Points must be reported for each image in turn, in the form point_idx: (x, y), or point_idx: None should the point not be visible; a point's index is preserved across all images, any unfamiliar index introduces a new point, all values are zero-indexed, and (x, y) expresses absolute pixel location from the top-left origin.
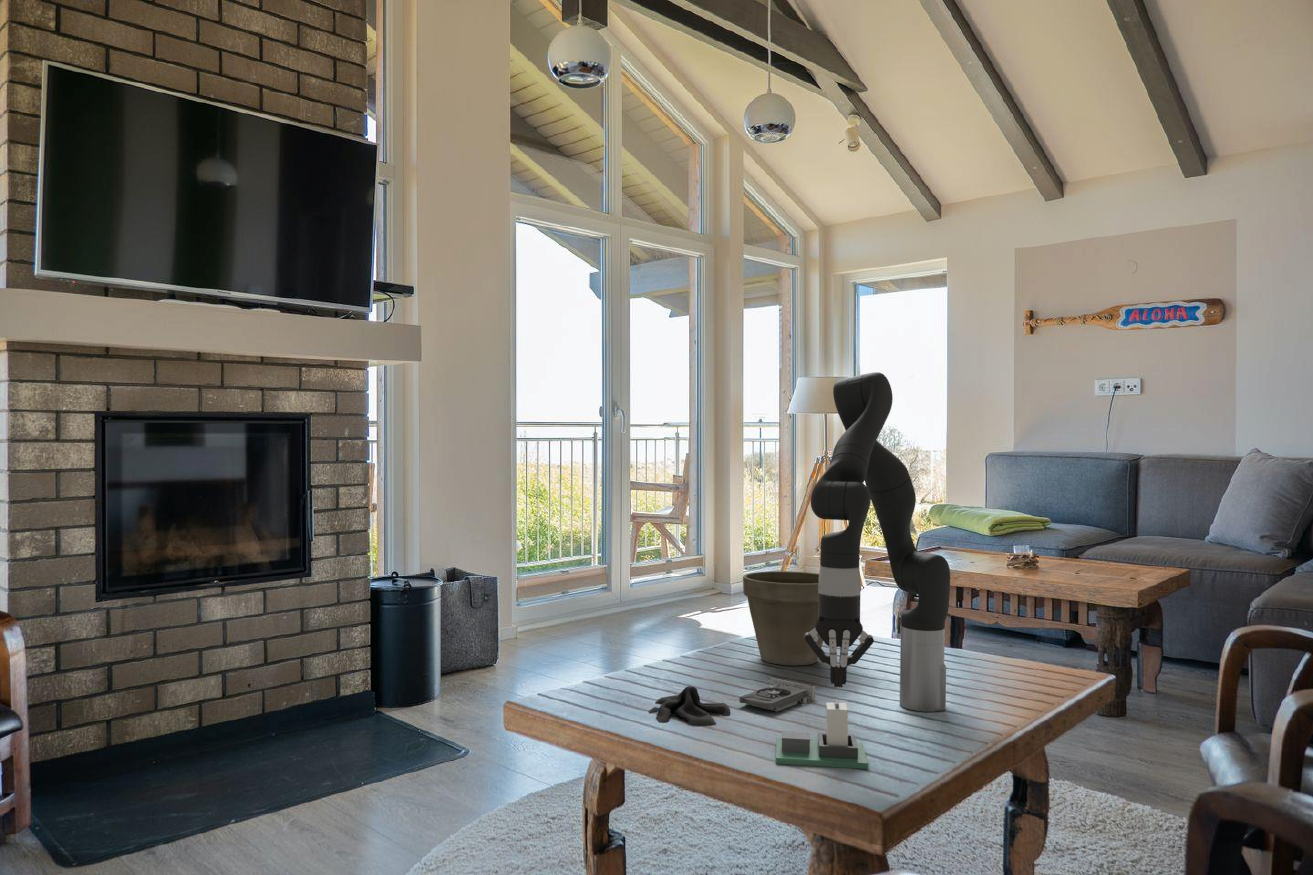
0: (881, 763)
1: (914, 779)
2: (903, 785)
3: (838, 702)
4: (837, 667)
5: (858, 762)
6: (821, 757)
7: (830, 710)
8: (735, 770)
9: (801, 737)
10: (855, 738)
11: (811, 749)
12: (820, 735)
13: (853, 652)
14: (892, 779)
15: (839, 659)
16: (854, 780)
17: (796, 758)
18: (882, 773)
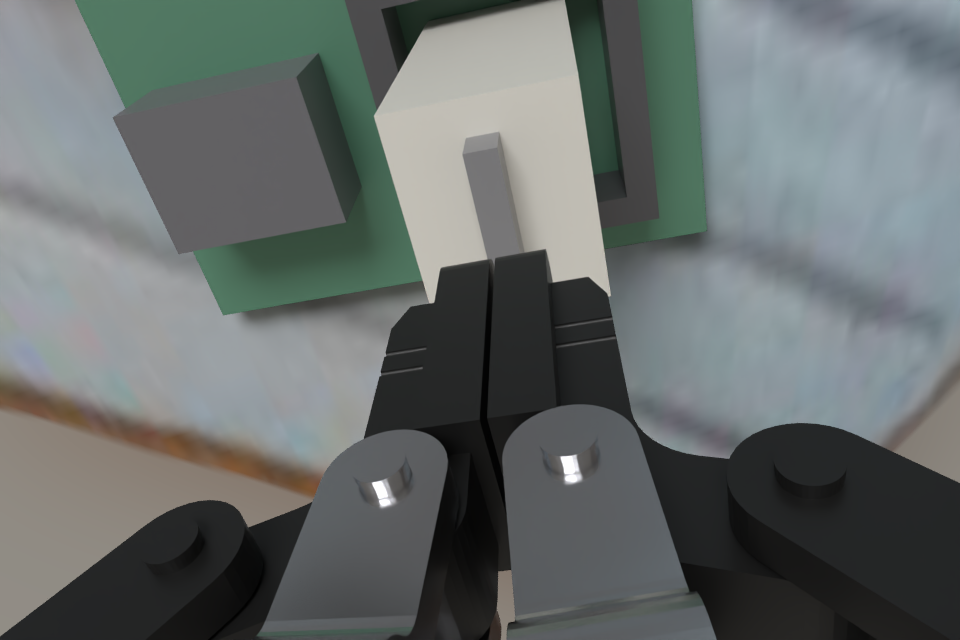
0: (786, 97)
1: (937, 280)
2: (862, 367)
3: (518, 250)
4: (504, 568)
5: (653, 238)
6: None
7: None
8: (115, 426)
9: (283, 200)
10: (636, 12)
11: (352, 114)
12: (376, 45)
13: (875, 637)
14: (819, 314)
15: (508, 496)
16: (633, 379)
17: (320, 287)
18: (776, 254)
